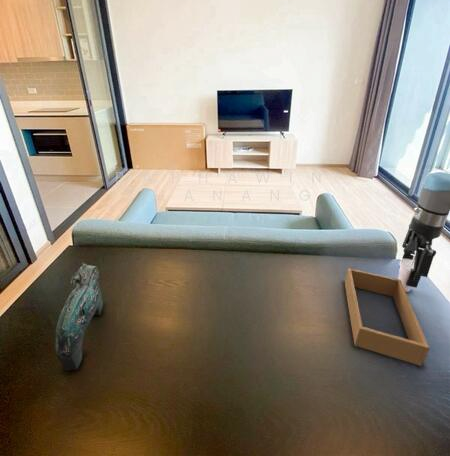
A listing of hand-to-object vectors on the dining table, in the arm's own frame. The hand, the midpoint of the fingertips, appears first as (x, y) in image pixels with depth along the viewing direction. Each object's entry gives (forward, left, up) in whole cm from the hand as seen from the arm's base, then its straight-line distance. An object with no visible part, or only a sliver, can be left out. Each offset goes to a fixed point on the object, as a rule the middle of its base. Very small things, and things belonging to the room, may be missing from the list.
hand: (407, 277), depth 83 cm
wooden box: (+11, +15, -5) cm, 20 cm away
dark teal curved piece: (+92, +46, -5) cm, 103 cm away
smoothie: (0, 0, -5) cm, 5 cm away
